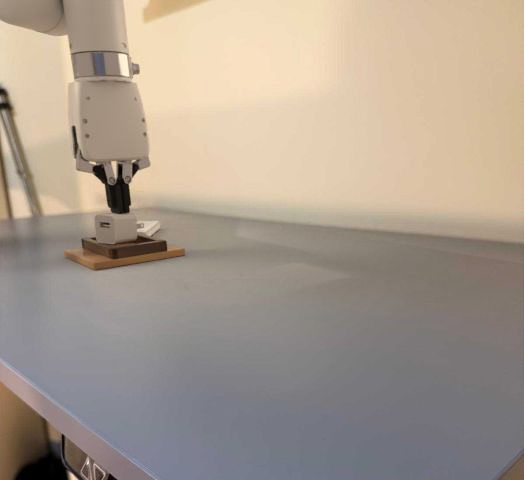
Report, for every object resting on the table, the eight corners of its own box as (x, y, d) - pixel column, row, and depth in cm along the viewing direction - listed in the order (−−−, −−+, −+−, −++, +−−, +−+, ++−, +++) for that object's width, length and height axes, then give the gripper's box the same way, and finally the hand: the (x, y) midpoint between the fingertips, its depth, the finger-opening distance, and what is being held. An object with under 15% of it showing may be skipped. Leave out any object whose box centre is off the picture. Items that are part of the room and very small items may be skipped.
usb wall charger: (96, 242, 78) (93, 213, 77) (129, 236, 84) (128, 210, 82) (116, 244, 76) (114, 215, 75) (149, 239, 82) (148, 212, 81)
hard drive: (117, 221, 104) (98, 232, 92) (160, 220, 104) (145, 230, 92) (118, 230, 104) (99, 241, 93) (160, 229, 104) (147, 240, 93)
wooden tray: (64, 257, 81) (62, 240, 80) (149, 244, 89) (147, 229, 88) (94, 270, 72) (92, 251, 72) (185, 255, 80) (184, 238, 79)
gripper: (141, 76, 79) (154, 205, 85) (36, 72, 70) (60, 216, 77) (165, 70, 73) (178, 209, 80) (54, 65, 65) (79, 221, 71)
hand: (120, 212), depth 78 cm, fingers closed
